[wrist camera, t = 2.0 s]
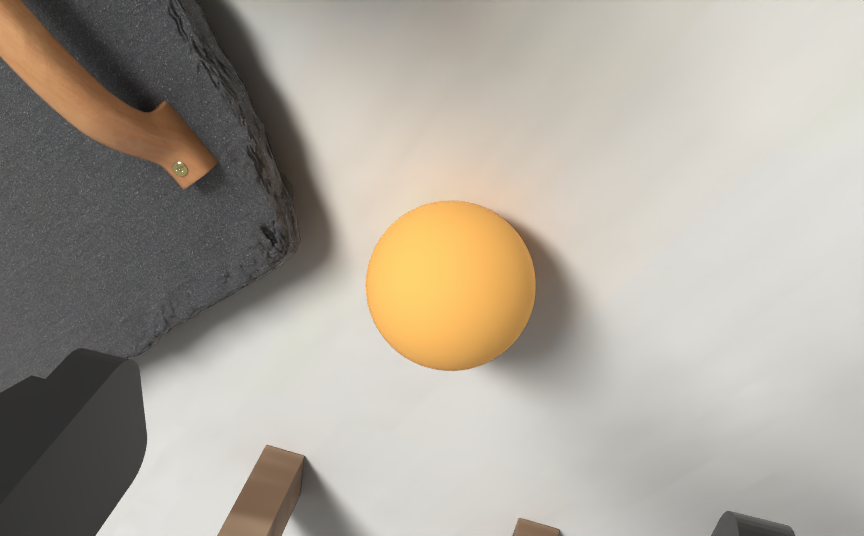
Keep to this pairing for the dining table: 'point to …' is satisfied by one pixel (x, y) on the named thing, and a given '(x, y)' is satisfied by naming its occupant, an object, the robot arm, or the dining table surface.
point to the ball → (450, 285)
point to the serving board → (124, 179)
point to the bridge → (294, 499)
